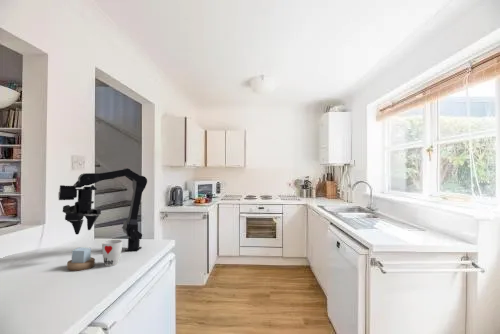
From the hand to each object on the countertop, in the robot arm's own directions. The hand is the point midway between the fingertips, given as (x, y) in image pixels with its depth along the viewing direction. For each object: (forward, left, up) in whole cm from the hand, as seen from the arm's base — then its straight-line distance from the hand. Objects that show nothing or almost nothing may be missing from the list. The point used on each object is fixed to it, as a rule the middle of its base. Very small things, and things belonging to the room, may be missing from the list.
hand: (83, 232), depth 125 cm
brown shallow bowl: (+12, +7, -12) cm, 18 cm away
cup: (+8, +18, -12) cm, 23 cm away
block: (+12, +7, -10) cm, 17 cm away
